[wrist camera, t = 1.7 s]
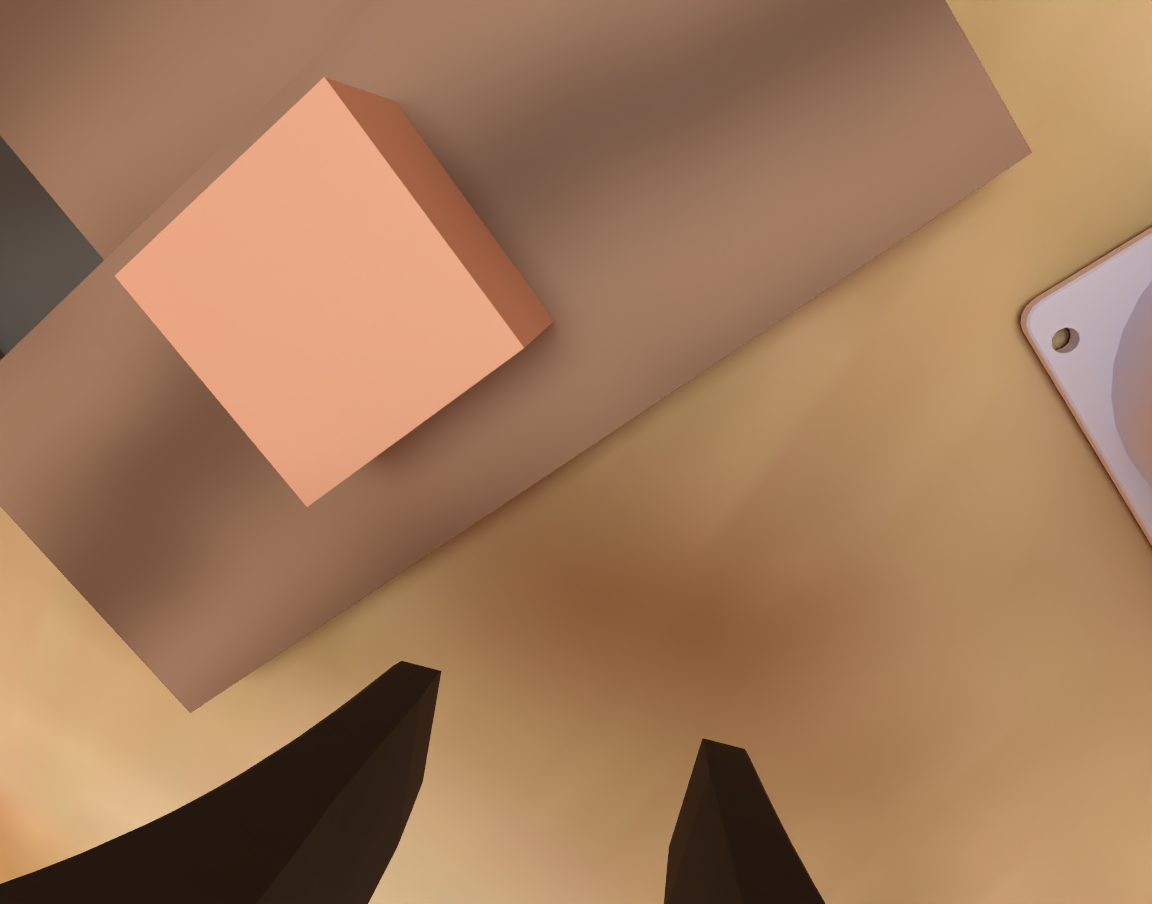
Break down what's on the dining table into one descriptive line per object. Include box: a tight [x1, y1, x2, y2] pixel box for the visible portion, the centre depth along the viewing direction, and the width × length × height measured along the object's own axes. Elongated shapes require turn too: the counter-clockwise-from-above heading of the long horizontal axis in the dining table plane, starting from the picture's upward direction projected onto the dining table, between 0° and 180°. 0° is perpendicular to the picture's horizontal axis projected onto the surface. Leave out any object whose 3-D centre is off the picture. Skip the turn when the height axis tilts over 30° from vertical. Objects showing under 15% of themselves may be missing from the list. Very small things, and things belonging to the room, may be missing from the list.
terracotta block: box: [115, 77, 554, 507], centre depth 14 cm, size 5×5×3 cm
